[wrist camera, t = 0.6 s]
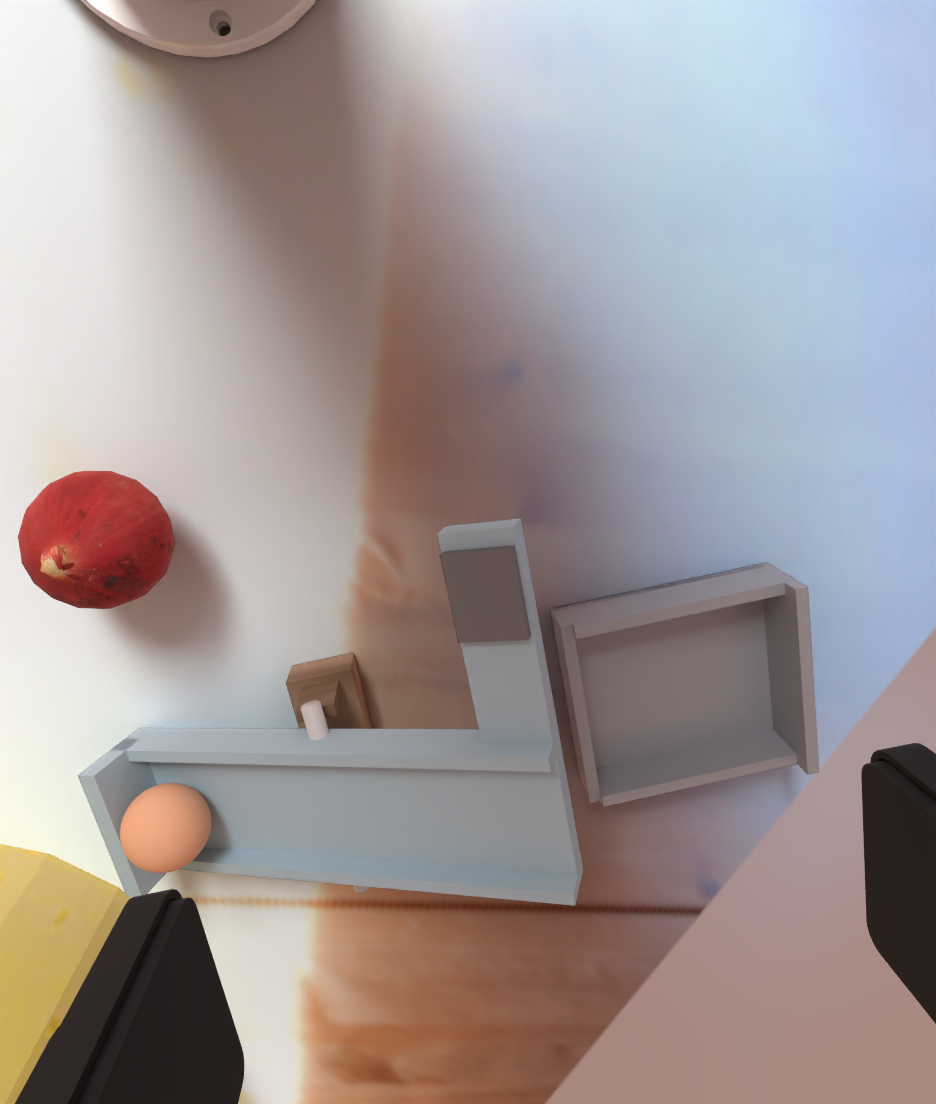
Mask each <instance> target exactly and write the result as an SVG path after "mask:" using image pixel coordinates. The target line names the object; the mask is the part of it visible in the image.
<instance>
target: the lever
mask: <svg viewBox="0 0 936 1104" xmlns="http://www.w3.org/2000/svg"><path fill="white" fill-rule="evenodd" d="M437 536H438V540H439V545H440V550H441V554H440V559H441V563H442V568H443V573H444V577H445V582H446V587H447V591H448V596H449V601H450V605H451V610H452V615H453V619H454V624H455V629H456V633H457V638H458V643H461V648H462V653H463V657H464V662H465V667H466V671H467V676H468V681H469V685H470V690H471V695H472V699H473V704H474V709H475V714H476V718H477V723H478V728H479V729H328V727H327V723H326V720H325V716H324V713H323V709H322V706H321V702H320V701H317V700H314V701H310V702H307V703H305V704H304V705H302V706H301V711H302V715H303V718H304V722H305V725H306V729H294V728H138V729H137V730H136V731H135V732H133V733H132V734H131V735H129V736H128V737H127V738H125V739H124V740H123V741H122V742H120V743H119V744H118V745H116V746H115V747H114V748H113V749H111V750H110V751H109V752H107V753H106V754H105V755H103V756H102V757H101V758H100V759H98V760H97V761H96V762H94V763H93V764H92V765H90V766H89V767H88V768H87V769H85V770H84V771H83V772H81V773H80V774H79V775H78V777H79V780H80V782H81V785H82V787H83V790H84V792H85V795H86V797H87V800H88V802H89V804H90V807H91V809H92V812H93V814H94V817H95V819H96V822H97V824H98V827H99V829H100V832H101V834H102V837H103V839H104V842H105V844H106V846H107V849H108V851H109V854H110V856H111V859H112V861H113V864H114V866H115V869H116V871H117V874H118V876H119V879H120V881H121V884H122V886H123V888H124V891H125V893H126V896H127V897H135V896H141V895H146V894H147V893H148V892H149V891H150V890H151V889H152V888H153V887H154V886H155V885H156V884H157V882H158V881H159V880H160V879H161V878H162V877H163V876H164V875H165V874H166V873H167V872H165V873H153V872H148V871H145V870H143V869H140V868H139V867H137V866H136V865H134V864H133V863H132V862H131V861H130V860H129V859H128V858H127V856H126V855H125V853H124V851H123V848H122V845H121V841H120V827H121V823H122V819H123V816H124V814H125V812H126V810H127V809H128V807H129V805H130V804H131V803H132V802H133V801H134V800H135V799H136V797H137V796H139V795H140V794H141V793H142V792H144V791H146V790H147V789H149V788H151V787H153V786H156V785H159V784H164V783H180V784H184V785H187V786H190V787H191V788H193V789H195V790H196V791H198V792H199V793H200V794H201V795H202V797H203V798H204V799H205V801H206V802H207V804H208V807H209V809H210V814H211V830H210V834H209V837H208V840H207V842H206V844H205V846H204V848H203V849H202V851H201V852H200V853H199V854H198V855H197V857H196V858H194V859H193V860H192V861H191V862H189V863H188V864H187V865H185V866H183V867H182V868H179V870H190V871H201V872H212V873H223V874H234V875H245V876H256V877H267V878H278V879H289V880H300V881H311V882H322V883H333V884H344V885H352V886H353V889H354V891H355V892H356V893H363V892H366V891H367V890H369V889H370V887H377V888H388V889H399V890H410V891H421V892H432V893H443V894H454V895H465V896H476V897H487V898H498V899H509V900H520V901H531V902H542V903H553V904H564V905H576V900H577V896H578V891H579V887H580V882H581V878H582V874H583V865H582V860H581V854H580V849H579V843H578V837H577V832H576V826H575V820H574V815H573V809H572V804H571V798H570V792H569V787H568V781H567V775H566V770H565V764H564V759H563V753H562V747H561V742H560V736H559V730H558V725H557V719H556V713H555V708H554V702H553V697H552V691H551V685H550V680H549V674H548V668H547V663H546V657H545V652H544V646H543V640H542V635H541V629H540V623H539V618H538V612H537V607H536V601H535V595H534V590H533V584H532V578H531V573H530V567H529V562H528V556H527V550H526V545H525V539H524V533H523V528H522V522H521V518H518V519H509V520H499V521H489V522H480V523H470V524H460V525H450V526H445V527H444V528H443V529H442V530H441V531H440V532H439V533H438V534H437Z"/></svg>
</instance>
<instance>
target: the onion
mask: <svg viewBox="0 0 936 1104" xmlns="http://www.w3.org/2000/svg"><path fill="white" fill-rule="evenodd" d="M18 540H19V546H20V552H21V559H22V564H23V566H24V567H25V569H26V571H27V572H28V574H29V576H30V577H31V579H32V581H33V582H34V584H36V585H37V586H38V587H39V588H41V589H42V590H43V591H44V592H46V593H47V594H48V595H49V596H51V597H52V598H54V599H56V600H59V601H61V602H64V603H67V604H70V605H72V606H75V607H78V608H97V609H108V608H113V607H116V606H119V605H121V604H124V603H127V602H129V601H132V600H135V599H137V598H139V597H141V596H144V595H145V594H146V593H147V592H148V591H149V590H150V589H151V588H152V587H153V586H154V585H155V584H156V583H157V582H158V581H159V580H160V579H161V578H162V577H163V576H164V575H165V573H166V571H167V569H168V566H169V563H170V559H171V555H172V552H173V548H174V545H175V541H174V536H173V532H172V527H171V522H170V518H169V516H168V515H167V513H166V511H165V510H164V508H163V506H162V505H161V503H160V501H159V500H158V498H157V496H155V495H154V494H153V493H152V492H150V491H149V490H148V489H147V488H145V487H144V486H143V485H142V484H141V483H139V482H138V481H137V480H135V479H132V478H129V477H126V476H123V475H120V474H117V473H114V472H112V471H82V472H74V473H72V474H70V475H68V476H65V477H63V478H61V479H59V480H57V481H55V482H53V483H50V484H49V485H48V486H47V487H46V488H45V489H43V490H42V492H41V493H40V494H39V495H38V496H37V497H36V499H35V500H34V501H33V502H32V503H31V504H30V506H29V507H28V508H27V510H26V512H25V514H24V518H23V521H22V525H21V528H20V532H19V535H18Z"/></svg>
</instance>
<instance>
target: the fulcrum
mask: <svg viewBox="0 0 936 1104" xmlns="http://www.w3.org/2000/svg"><path fill="white" fill-rule="evenodd" d="M286 685H287V688H288V692H289V695H290V698H291V702H292V705H293V709H294V712H295V715H296V719H297V722H298V726H299V729H306V725H305V722H304V718H303V715H302V711H301V706H302V705H304V704H305V703H307V702H310V701H314V700H317V701H320V702H321V706H322V709H323V713H324V716H325V720H326V723H327V727H328V729H373V726H372V722H371V718H370V714H369V710H368V706H367V703H366V699H365V695H364V691H363V687H362V683H361V680H360V676H359V672H358V668H357V664H356V661H355V657H354V653H349V654H344V655H340V656H335V657H330V658H326V659H321V660H316V661H312V662H307V663H302V664H298V665H293V666H292V667H291V670H290V673H289V676H288V679H287V682H286Z"/></svg>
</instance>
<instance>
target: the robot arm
mask: <svg viewBox="0 0 936 1104" xmlns="http://www.w3.org/2000/svg"><path fill="white" fill-rule="evenodd" d="M81 1H82V2H83V3H84V4H85V5H86V6H87V7H88V8H89V9H90V10H91V11H93V12H94V13H95V14H97V15H98V16H99V17H101V18H102V19H103V20H105V21H106V22H107V23H109V24H110V25H111V26H113V27H114V28H115V29H116V30H118V31H120V32H121V33H123V34H125V35H127V36H129V37H131V38H133V39H135V40H137V41H139V42H141V43H143V44H145V45H147V46H149V47H153V48H156V49H160V50H163V51H166V52H170V53H173V54H177V55H183V56H195V57H207V58H211V57H218V56H226V55H233V54H240V53H242V52H245V51H248V50H250V49H253V48H256V47H258V46H261V45H264V44H267V43H268V42H270V41H271V40H273V39H274V38H276V37H277V36H279V35H280V34H282V33H283V32H285V31H287V30H288V29H290V28H291V27H292V26H293V25H294V24H295V23H296V22H297V21H298V20H299V19H300V18H301V17H302V16H303V15H304V14H305V13H306V12H307V11H308V10H309V9H310V8H311V7H312V6H313V5H314V3H315V2H316V0H81ZM224 26H228V27H230V28H231V31H230V33H229V34H227V35H225V36H221V35H220V30H221V28H222V27H224ZM862 802H863V831H864V858H865V859H864V860H865V887H866V888H865V889H866V917H867V927H868V930H869V934H870V936H871V938H872V941H873V943H874V945H875V947H876V949H877V950H878V951H879V953H880V954H881V955H882V957H883V958H884V959H885V961H886V962H887V963H888V964H889V965H890V967H891V968H892V969H893V971H894V972H895V973H896V974H897V976H898V977H899V978H900V979H901V981H902V982H903V983H904V984H905V986H906V987H907V988H908V989H909V991H910V992H911V993H912V994H913V996H914V997H915V998H916V999H917V1001H918V1002H919V1003H920V1004H921V1006H922V1007H923V1008H924V1009H925V1011H926V1012H927V1013H928V1014H929V1016H930V1017H931V1018H932V1020H933V1021H934V1022H935V1023H936V754H935V753H934V752H932V751H931V750H929V749H928V748H927V747H925V746H923V745H921V744H918V743H912V744H908V745H902V746H898V747H893V748H887V749H882V750H877V751H876V752H874V753H873V755H872V757H871V763H868V764H866V765H864V766H863V768H862ZM243 1078H244V1056H243V1051H242V1047H241V1044H240V1040H239V1037H238V1034H237V1031H236V1028H235V1025H234V1022H233V1019H232V1016H231V1012H230V1009H229V1006H228V1003H227V1000H226V997H225V994H224V991H223V988H222V984H221V981H220V978H219V975H218V972H217V969H216V966H215V963H214V959H213V956H212V953H211V950H210V947H209V944H208V941H207V938H206V935H205V931H204V928H203V925H202V922H201V919H200V916H199V913H198V910H197V907H196V904H195V902H194V900H193V899H192V898H184V899H182V896H181V894H180V893H179V892H178V891H177V890H174V889H171V890H166V891H161V892H156V893H151V894H146V895H141V896H135V897H132V898H131V899H129V900H128V901H127V903H126V904H125V906H124V908H123V909H122V911H121V913H120V915H119V917H118V919H117V921H116V922H115V924H114V926H113V928H112V930H111V932H110V934H109V935H108V937H107V939H106V941H105V943H104V945H103V947H102V948H101V950H100V952H99V954H98V956H97V958H96V960H95V961H94V963H93V965H92V967H91V969H90V971H89V973H88V974H87V976H86V978H85V980H84V982H83V984H82V986H81V987H80V989H79V991H78V993H77V995H76V997H75V999H74V1000H73V1002H72V1004H71V1006H70V1008H69V1010H68V1012H67V1014H66V1015H65V1017H64V1019H63V1021H62V1023H61V1025H60V1026H59V1027H58V1028H57V1029H56V1031H55V1032H54V1034H53V1035H52V1037H51V1038H50V1039H49V1041H48V1043H47V1045H46V1047H45V1049H44V1050H43V1052H42V1054H41V1056H40V1058H39V1060H38V1062H37V1063H36V1065H35V1067H34V1069H33V1071H32V1073H31V1074H30V1076H29V1078H28V1080H27V1082H26V1084H25V1085H24V1087H23V1089H22V1091H21V1093H20V1095H19V1097H18V1098H17V1100H16V1102H15V1104H238V1101H239V1097H240V1092H241V1088H242V1084H243Z"/></svg>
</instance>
